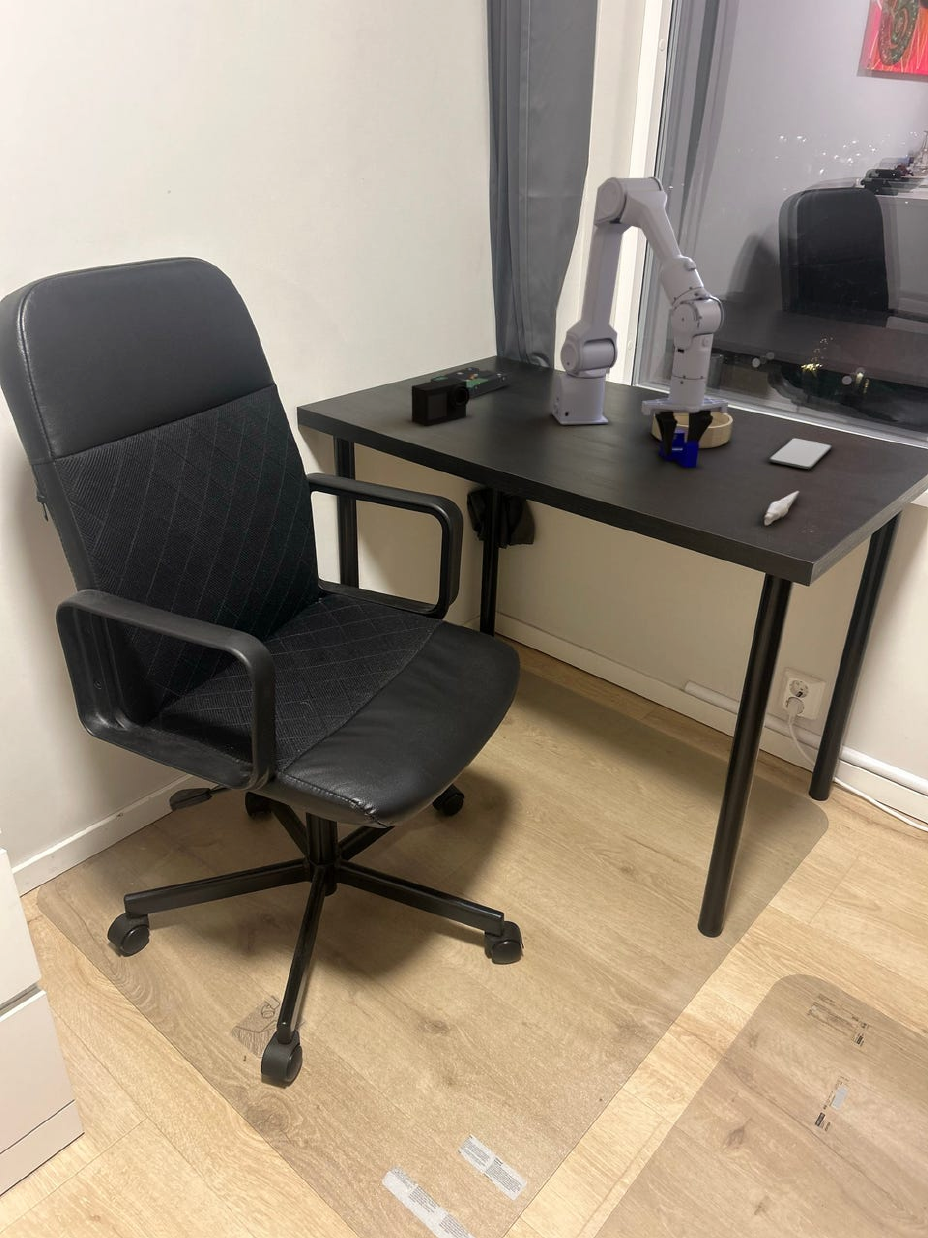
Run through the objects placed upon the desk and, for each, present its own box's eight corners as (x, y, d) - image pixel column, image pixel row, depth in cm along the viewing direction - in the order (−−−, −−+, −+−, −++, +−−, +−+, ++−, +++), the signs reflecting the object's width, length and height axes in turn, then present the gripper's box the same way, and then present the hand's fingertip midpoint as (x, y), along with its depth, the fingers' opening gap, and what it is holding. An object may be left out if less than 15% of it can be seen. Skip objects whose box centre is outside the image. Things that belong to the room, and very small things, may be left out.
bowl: (666, 450, 157) (669, 428, 155) (641, 426, 169) (643, 406, 167) (741, 448, 159) (745, 426, 157) (711, 424, 171) (714, 404, 169)
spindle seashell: (773, 528, 127) (776, 516, 126) (755, 524, 129) (758, 512, 128) (806, 498, 138) (808, 487, 137) (789, 494, 139) (791, 483, 138)
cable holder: (659, 452, 156) (662, 430, 154) (678, 451, 156) (681, 429, 155) (676, 467, 149) (679, 445, 147) (695, 467, 150) (699, 444, 148)
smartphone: (832, 444, 159) (809, 467, 149) (831, 447, 160) (808, 470, 149) (793, 437, 163) (768, 458, 152) (793, 440, 163) (768, 461, 152)
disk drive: (469, 378, 199) (429, 391, 188) (470, 366, 197) (429, 378, 187) (507, 386, 194) (468, 399, 183) (508, 373, 192) (469, 386, 182)
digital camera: (429, 428, 166) (429, 391, 163) (411, 421, 170) (411, 385, 166) (470, 418, 172) (471, 382, 169) (452, 411, 176) (452, 376, 172)
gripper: (655, 382, 141) (645, 463, 148) (740, 380, 143) (726, 460, 150) (641, 371, 147) (632, 449, 154) (723, 369, 149) (710, 446, 156)
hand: (677, 453), depth 152 cm, fingers open, 4 cm apart
